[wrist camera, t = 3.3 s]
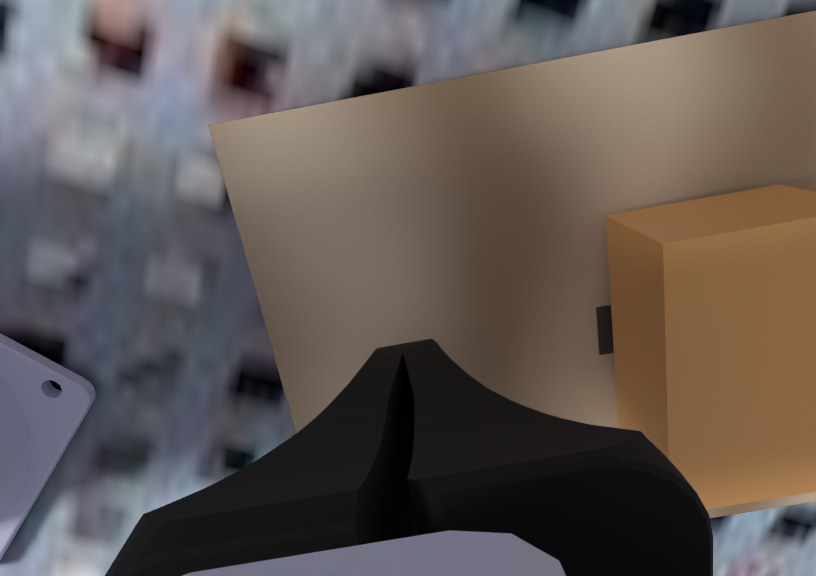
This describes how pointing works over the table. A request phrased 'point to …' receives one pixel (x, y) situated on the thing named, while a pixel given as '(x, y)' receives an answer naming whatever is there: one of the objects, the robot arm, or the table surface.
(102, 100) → the table surface
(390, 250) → the fader panel
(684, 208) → the fader knob
